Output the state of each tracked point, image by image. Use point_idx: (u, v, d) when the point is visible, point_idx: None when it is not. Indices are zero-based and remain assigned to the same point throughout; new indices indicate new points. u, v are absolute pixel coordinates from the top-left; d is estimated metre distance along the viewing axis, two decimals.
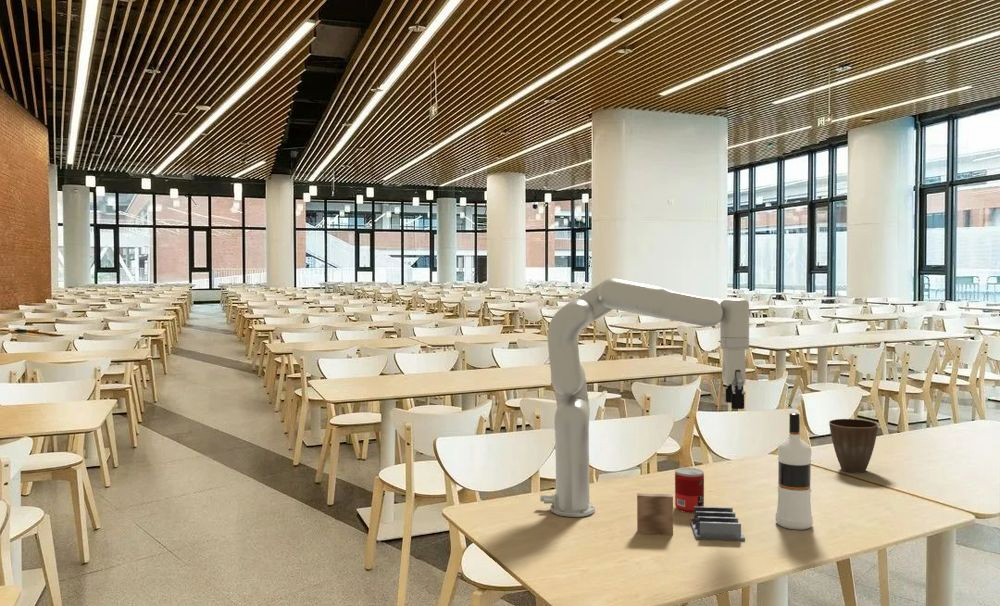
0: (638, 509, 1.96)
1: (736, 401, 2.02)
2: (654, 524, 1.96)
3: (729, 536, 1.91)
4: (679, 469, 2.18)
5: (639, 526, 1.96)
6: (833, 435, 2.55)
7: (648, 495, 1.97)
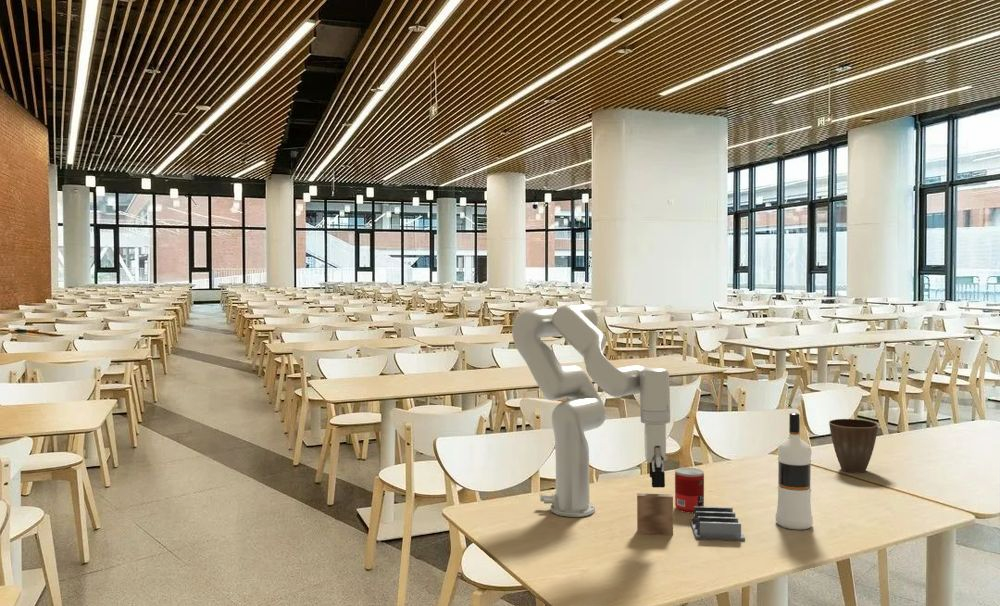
0: (638, 509, 1.96)
1: (656, 479, 1.90)
2: (654, 524, 1.96)
3: (729, 536, 1.91)
4: (679, 469, 2.18)
5: (639, 526, 1.96)
6: (833, 435, 2.55)
7: (648, 495, 1.97)
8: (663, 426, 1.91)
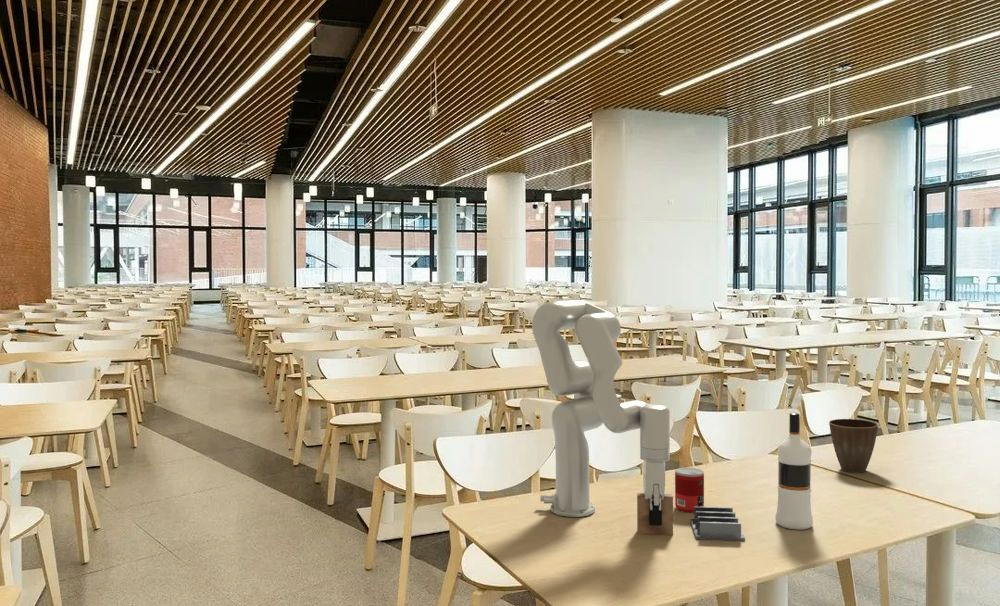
0: (638, 509, 1.96)
1: (653, 518, 1.94)
2: None
3: (729, 536, 1.91)
4: (679, 469, 2.18)
5: (639, 526, 1.96)
6: (833, 435, 2.55)
7: None
8: (662, 464, 1.92)
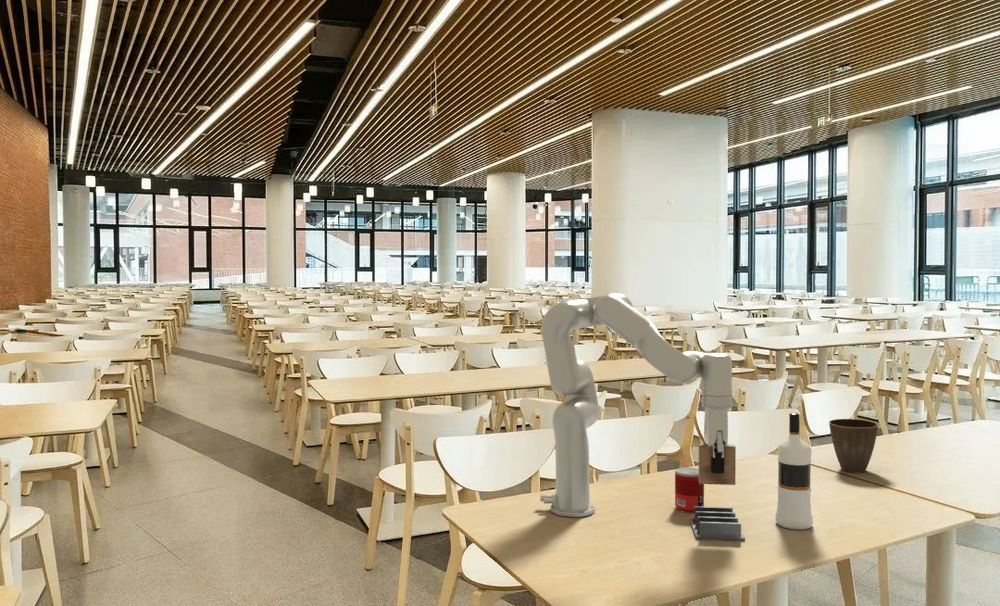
0: (700, 459, 1.96)
1: (716, 465, 1.95)
2: (717, 474, 1.96)
3: (729, 536, 1.91)
4: (679, 469, 2.18)
5: (701, 476, 1.97)
6: (833, 435, 2.55)
7: None
8: (726, 411, 1.92)
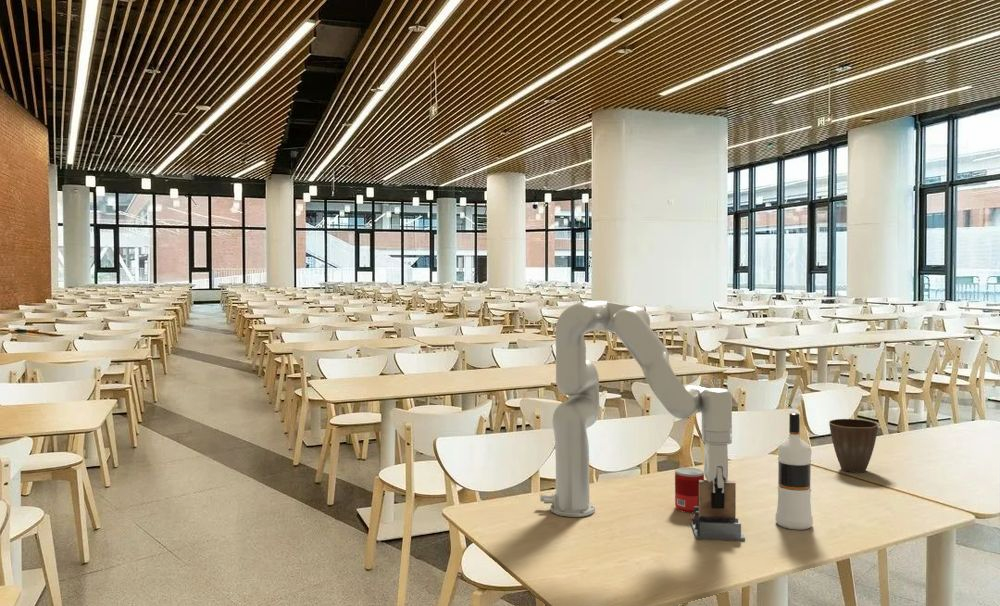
0: (700, 495, 1.97)
1: (716, 500, 1.95)
2: (717, 510, 1.96)
3: (729, 536, 1.91)
4: (679, 469, 2.18)
5: (701, 512, 1.97)
6: (833, 435, 2.55)
7: None
8: (725, 447, 1.93)
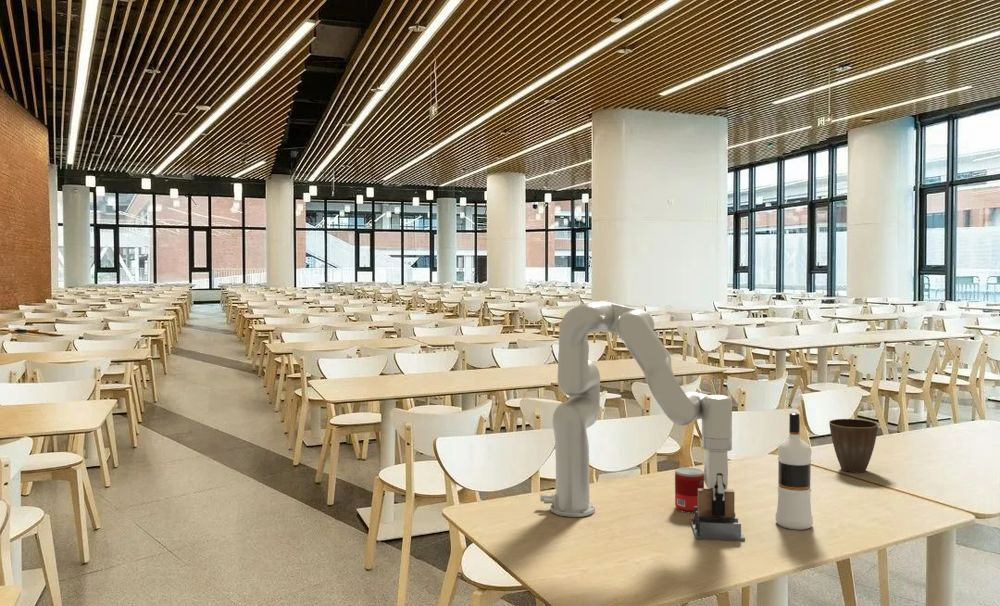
0: (699, 504, 1.97)
1: (716, 508, 1.94)
2: None
3: (729, 536, 1.91)
4: (679, 469, 2.18)
5: None
6: (833, 435, 2.55)
7: (709, 490, 1.97)
8: (725, 454, 1.93)
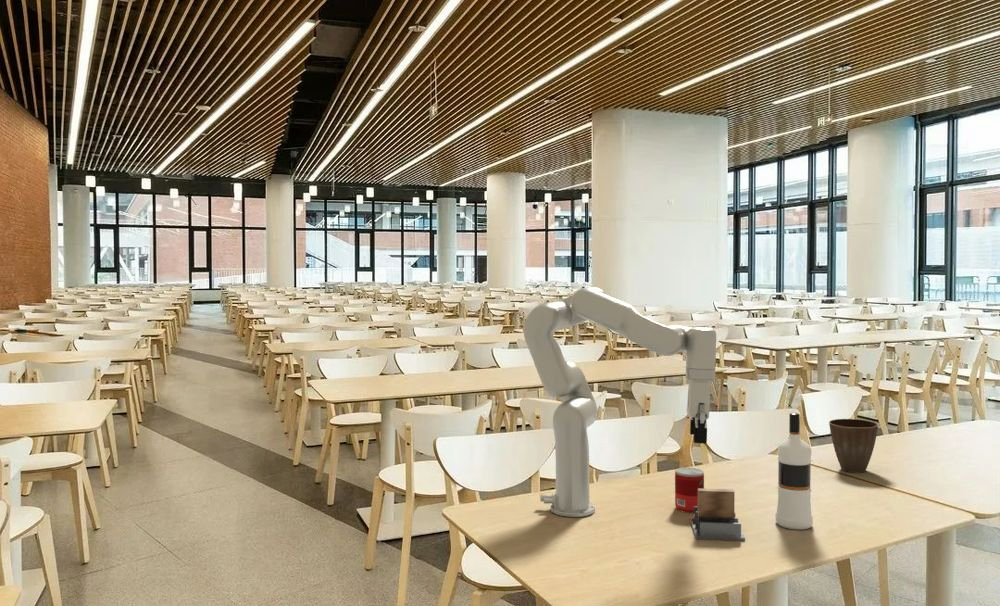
0: (699, 504, 1.97)
1: (698, 435, 1.95)
2: None
3: (729, 536, 1.91)
4: (679, 469, 2.18)
5: None
6: (833, 435, 2.55)
7: (709, 490, 1.97)
8: (708, 384, 1.95)
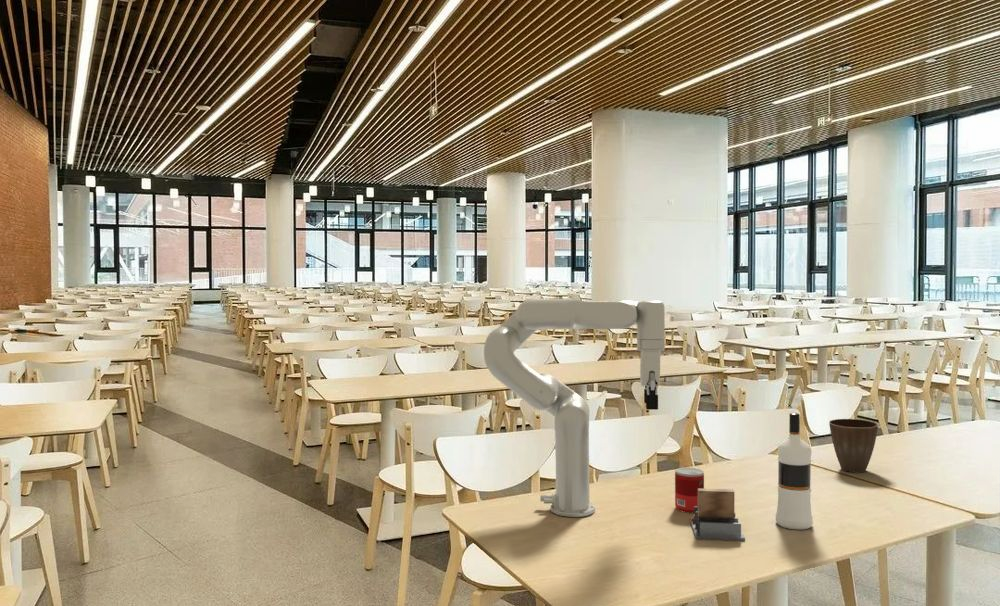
0: (699, 504, 1.97)
1: (650, 402, 2.06)
2: None
3: (729, 536, 1.91)
4: (679, 469, 2.18)
5: None
6: (833, 435, 2.55)
7: (709, 490, 1.97)
8: (658, 353, 2.07)
